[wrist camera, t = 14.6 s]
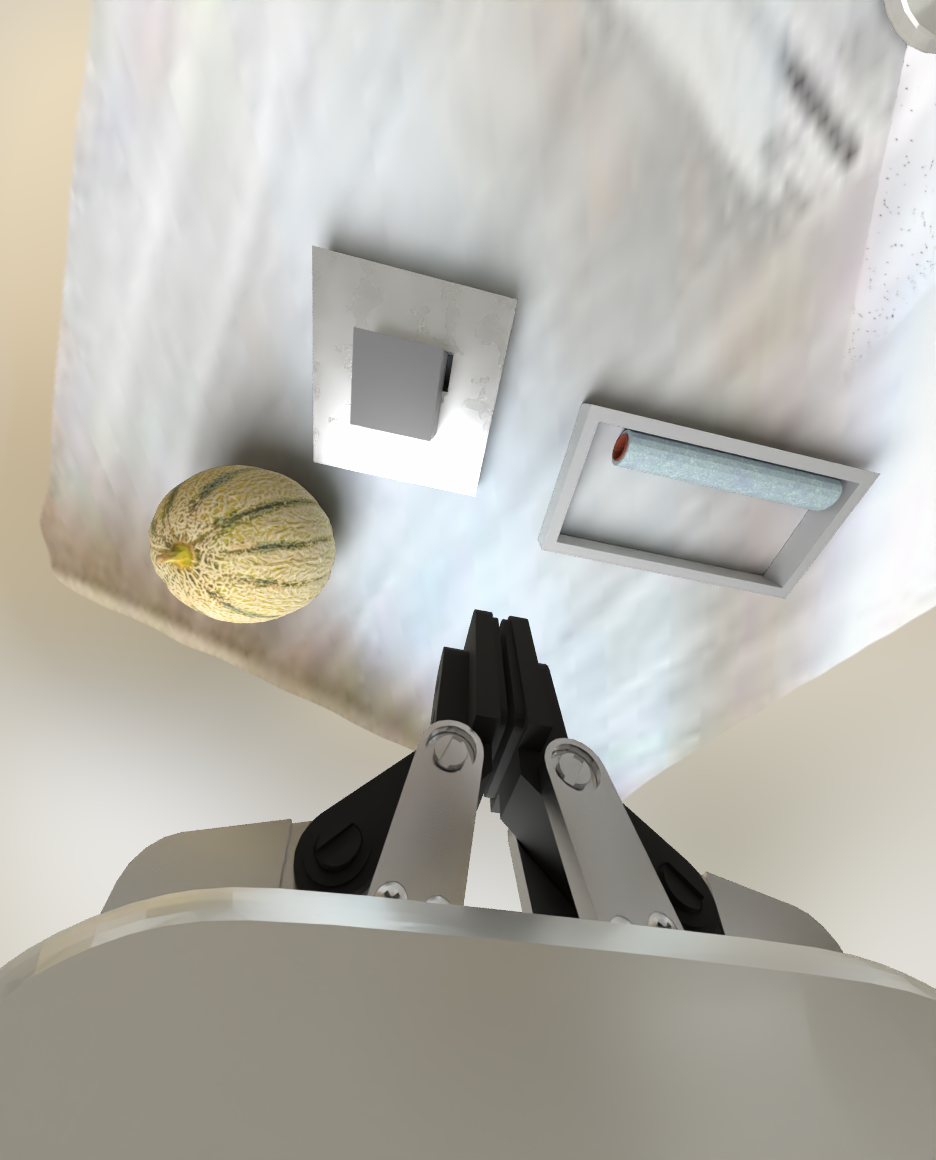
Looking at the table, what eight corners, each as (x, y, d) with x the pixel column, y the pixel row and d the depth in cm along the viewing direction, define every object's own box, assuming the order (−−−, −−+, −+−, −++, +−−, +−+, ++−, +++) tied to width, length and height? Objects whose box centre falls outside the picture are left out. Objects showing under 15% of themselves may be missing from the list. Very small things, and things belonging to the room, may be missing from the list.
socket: (327, 259, 29) (312, 245, 26) (513, 307, 30) (517, 299, 27) (325, 457, 36) (313, 462, 34) (474, 488, 38) (474, 496, 35)
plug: (380, 341, 31) (353, 326, 24) (450, 358, 32) (443, 348, 25) (375, 417, 34) (350, 424, 27) (439, 431, 35) (430, 441, 28)
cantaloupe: (332, 595, 44) (272, 681, 31) (213, 546, 41) (91, 618, 28) (371, 492, 38) (316, 546, 25) (233, 426, 35) (88, 446, 22)
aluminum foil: (606, 461, 36) (618, 468, 33) (634, 390, 33) (649, 391, 30) (800, 505, 38) (828, 515, 35) (843, 442, 35) (878, 447, 32)
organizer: (582, 403, 33) (591, 404, 31) (850, 467, 36) (880, 473, 33) (537, 539, 40) (542, 549, 38) (765, 586, 43) (785, 598, 40)
